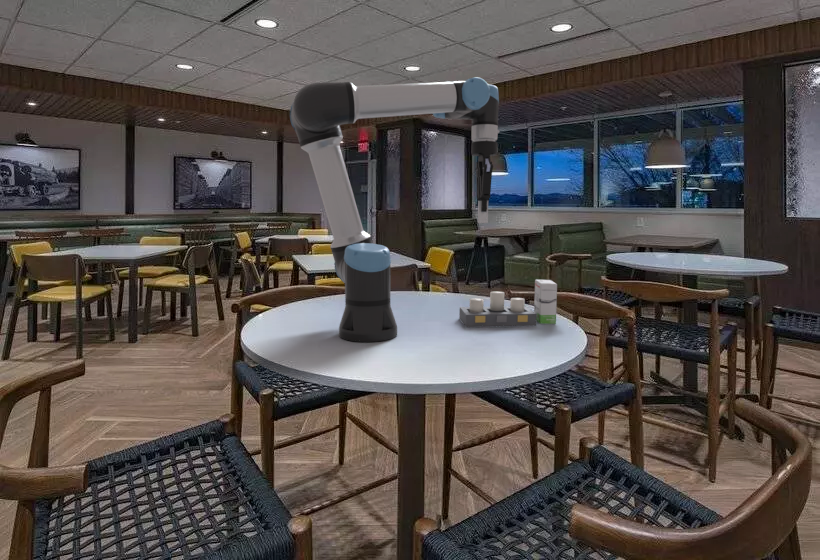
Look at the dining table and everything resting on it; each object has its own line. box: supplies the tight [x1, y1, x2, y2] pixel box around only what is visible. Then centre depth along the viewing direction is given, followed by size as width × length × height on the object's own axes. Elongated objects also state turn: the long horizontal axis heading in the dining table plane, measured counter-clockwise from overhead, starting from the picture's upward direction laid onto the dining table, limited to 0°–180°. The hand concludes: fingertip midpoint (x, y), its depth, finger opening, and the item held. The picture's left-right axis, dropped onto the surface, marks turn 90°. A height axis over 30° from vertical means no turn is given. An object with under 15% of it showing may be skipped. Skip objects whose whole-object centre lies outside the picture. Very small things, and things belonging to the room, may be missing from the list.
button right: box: [510, 297, 526, 312], centre depth 150 cm, size 4×4×5 cm
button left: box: [469, 297, 485, 312], centre depth 150 cm, size 4×4×5 cm
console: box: [458, 305, 537, 328], centre depth 150 cm, size 20×11×4 cm, turn 94°
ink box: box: [533, 279, 558, 325], centre depth 152 cm, size 9×5×12 cm, turn 178°
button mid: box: [489, 291, 505, 311], centre depth 150 cm, size 4×4×5 cm
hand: (482, 222), depth 154 cm, fingers closed
